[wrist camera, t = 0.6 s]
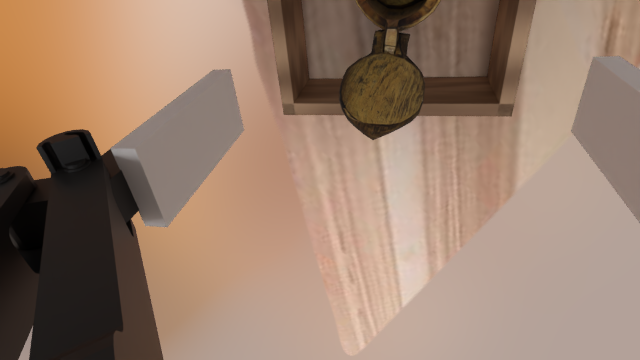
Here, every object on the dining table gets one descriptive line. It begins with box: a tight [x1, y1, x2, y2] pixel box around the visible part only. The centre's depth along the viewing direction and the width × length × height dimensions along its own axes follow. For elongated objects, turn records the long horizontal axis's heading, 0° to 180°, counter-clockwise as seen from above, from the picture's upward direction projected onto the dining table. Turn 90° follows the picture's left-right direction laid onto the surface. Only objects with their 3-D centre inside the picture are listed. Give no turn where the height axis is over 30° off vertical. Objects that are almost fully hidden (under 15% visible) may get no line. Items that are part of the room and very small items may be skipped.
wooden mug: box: [339, 0, 441, 140], centre depth 30 cm, size 9×14×18 cm, turn 178°
